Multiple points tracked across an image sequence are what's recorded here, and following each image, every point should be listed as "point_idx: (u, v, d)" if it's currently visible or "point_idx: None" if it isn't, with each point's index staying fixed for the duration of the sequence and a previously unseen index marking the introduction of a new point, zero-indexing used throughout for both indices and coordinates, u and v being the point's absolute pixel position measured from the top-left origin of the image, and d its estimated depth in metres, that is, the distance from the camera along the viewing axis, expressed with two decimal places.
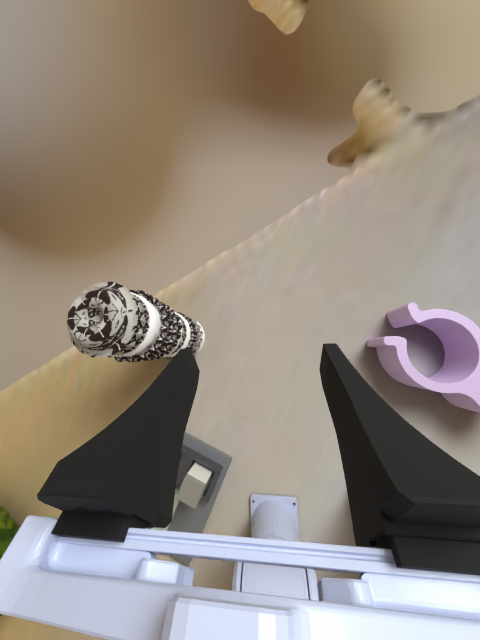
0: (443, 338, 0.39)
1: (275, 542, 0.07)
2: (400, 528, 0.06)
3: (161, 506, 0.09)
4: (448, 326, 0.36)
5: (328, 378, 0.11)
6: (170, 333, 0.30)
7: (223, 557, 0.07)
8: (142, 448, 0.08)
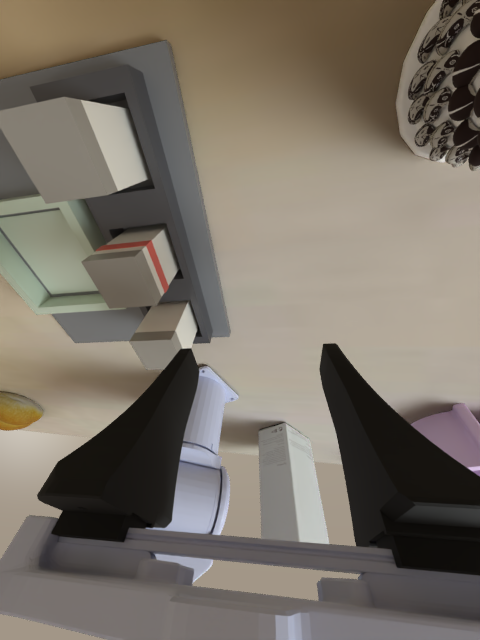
0: None
1: (275, 542, 0.07)
2: (400, 528, 0.06)
3: (161, 506, 0.09)
4: None
5: (328, 378, 0.11)
6: None
7: (223, 557, 0.07)
8: (142, 448, 0.08)
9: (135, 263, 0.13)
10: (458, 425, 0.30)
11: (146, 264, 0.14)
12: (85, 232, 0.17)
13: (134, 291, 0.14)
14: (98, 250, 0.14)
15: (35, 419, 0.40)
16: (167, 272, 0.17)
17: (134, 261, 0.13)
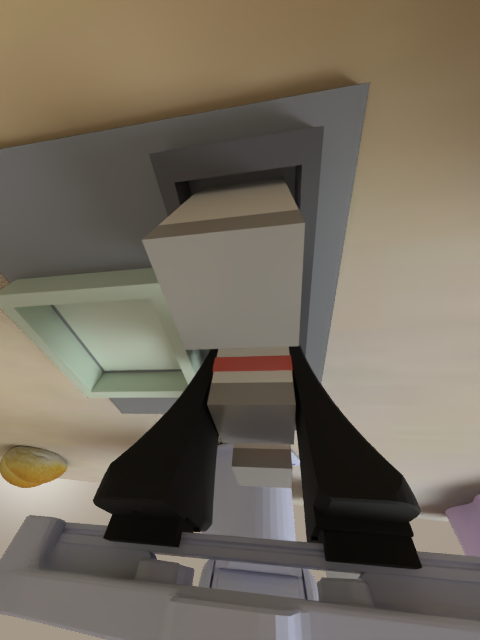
0: None
1: (275, 542, 0.07)
2: (329, 523, 0.06)
3: (205, 509, 0.09)
4: None
5: None
6: None
7: (223, 557, 0.07)
8: (191, 450, 0.08)
9: (290, 410, 0.09)
10: None
11: None
12: None
13: (270, 432, 0.10)
14: (217, 371, 0.10)
15: (60, 474, 0.35)
16: None
17: (290, 409, 0.09)
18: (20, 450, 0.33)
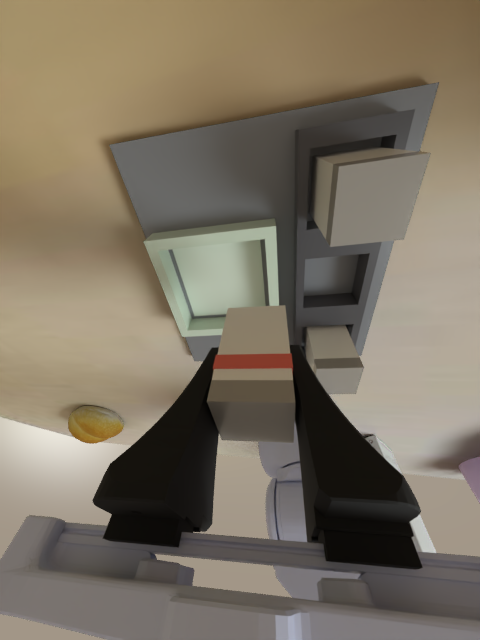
0: None
1: (275, 542, 0.07)
2: (329, 523, 0.06)
3: (205, 509, 0.09)
4: None
5: None
6: None
7: (223, 557, 0.07)
8: (191, 449, 0.08)
9: (290, 408, 0.09)
10: None
11: None
12: (276, 261, 0.17)
13: (270, 430, 0.10)
14: (217, 368, 0.10)
15: (119, 432, 0.40)
16: None
17: (290, 407, 0.09)
18: (87, 408, 0.38)
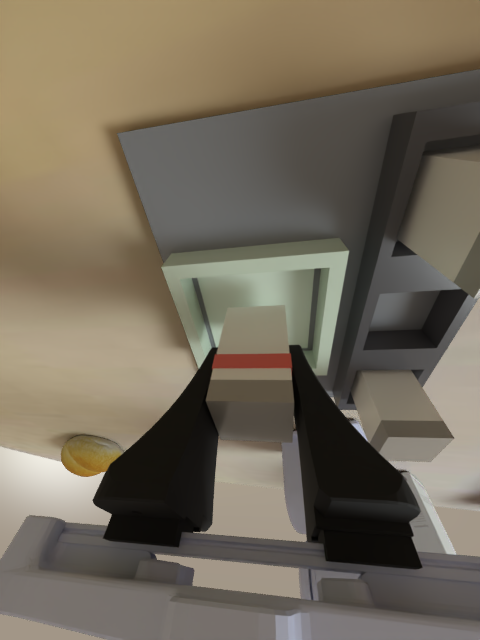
0: None
1: (275, 542, 0.07)
2: (329, 523, 0.06)
3: (205, 509, 0.09)
4: None
5: None
6: None
7: (223, 557, 0.07)
8: (191, 450, 0.08)
9: (289, 407, 0.09)
10: None
11: None
12: None
13: (268, 430, 0.10)
14: (216, 368, 0.10)
15: None
16: None
17: (289, 407, 0.09)
18: (83, 438, 0.33)
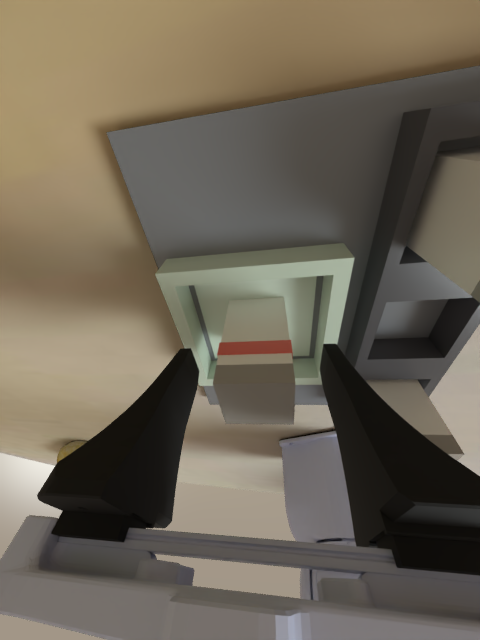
0: None
1: (275, 542, 0.07)
2: (400, 528, 0.06)
3: (161, 506, 0.09)
4: None
5: (328, 378, 0.11)
6: None
7: (223, 557, 0.07)
8: (142, 448, 0.08)
9: (291, 388, 0.09)
10: None
11: None
12: None
13: (271, 411, 0.11)
14: (221, 355, 0.11)
15: None
16: None
17: (291, 387, 0.09)
18: (79, 444, 0.33)
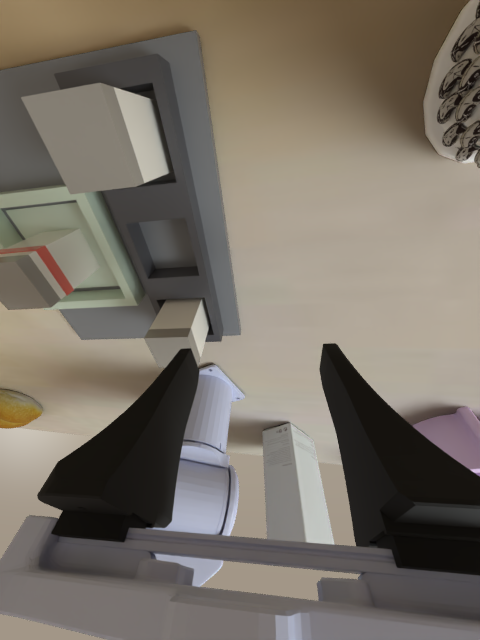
0: None
1: (275, 542, 0.07)
2: (400, 528, 0.06)
3: (161, 506, 0.09)
4: None
5: (328, 378, 0.11)
6: None
7: (223, 557, 0.07)
8: (142, 448, 0.08)
9: (18, 267, 0.14)
10: (461, 428, 0.31)
11: (35, 268, 0.15)
12: (101, 226, 0.17)
13: (26, 294, 0.15)
14: None
15: (35, 417, 0.39)
16: (72, 276, 0.17)
17: (16, 266, 0.14)
18: None
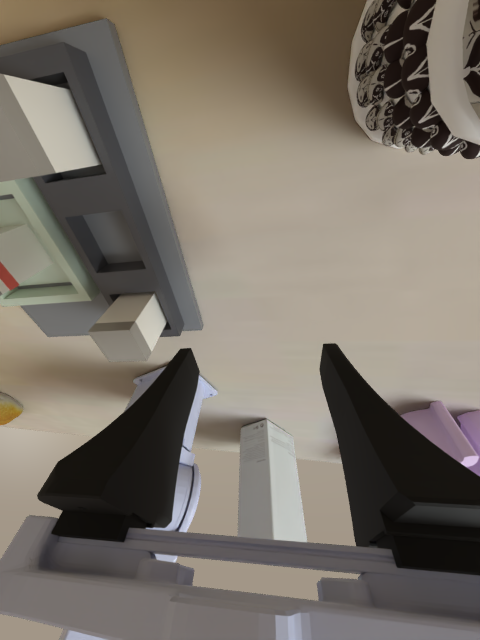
0: None
1: (275, 542, 0.07)
2: (400, 528, 0.06)
3: (161, 506, 0.09)
4: (470, 466, 0.33)
5: (328, 378, 0.11)
6: None
7: (223, 557, 0.07)
8: (142, 448, 0.08)
9: None
10: (434, 422, 0.30)
11: None
12: (42, 220, 0.17)
13: None
14: None
15: (14, 415, 0.39)
16: (17, 271, 0.17)
17: None
18: None
